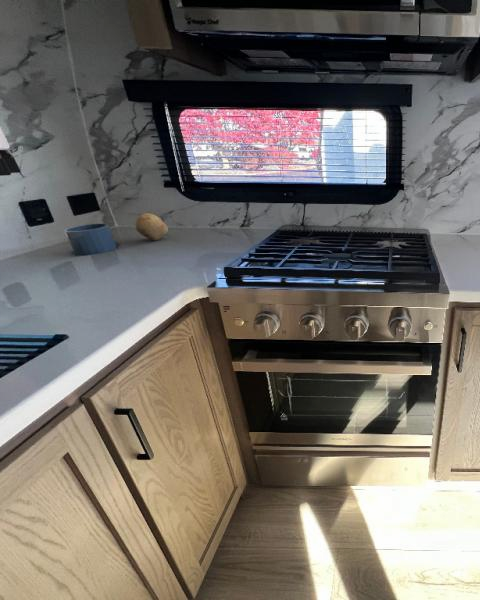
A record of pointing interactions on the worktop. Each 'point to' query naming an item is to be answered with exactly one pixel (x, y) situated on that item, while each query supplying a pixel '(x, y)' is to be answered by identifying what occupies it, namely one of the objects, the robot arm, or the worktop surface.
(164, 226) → the potato
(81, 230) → the canister
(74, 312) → the worktop surface
